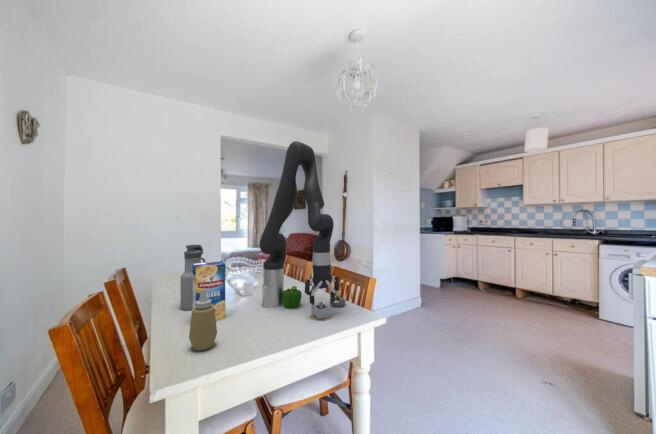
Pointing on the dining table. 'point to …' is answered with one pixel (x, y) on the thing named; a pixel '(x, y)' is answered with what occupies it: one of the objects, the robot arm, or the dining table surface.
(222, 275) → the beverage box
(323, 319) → the stand
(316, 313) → the grey small box
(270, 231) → the robot arm
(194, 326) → the squeeze bottle
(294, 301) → the bell pepper
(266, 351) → the dining table surface
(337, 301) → the hub
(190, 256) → the water bottle
